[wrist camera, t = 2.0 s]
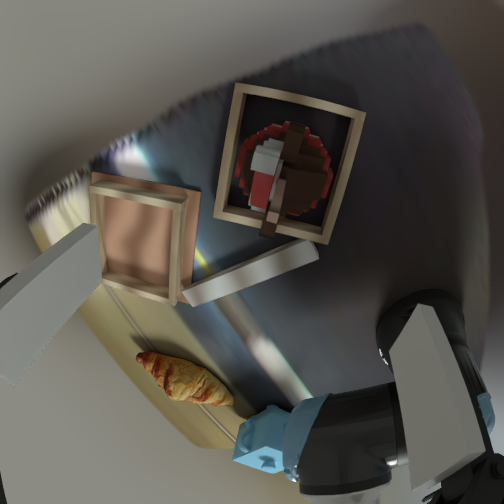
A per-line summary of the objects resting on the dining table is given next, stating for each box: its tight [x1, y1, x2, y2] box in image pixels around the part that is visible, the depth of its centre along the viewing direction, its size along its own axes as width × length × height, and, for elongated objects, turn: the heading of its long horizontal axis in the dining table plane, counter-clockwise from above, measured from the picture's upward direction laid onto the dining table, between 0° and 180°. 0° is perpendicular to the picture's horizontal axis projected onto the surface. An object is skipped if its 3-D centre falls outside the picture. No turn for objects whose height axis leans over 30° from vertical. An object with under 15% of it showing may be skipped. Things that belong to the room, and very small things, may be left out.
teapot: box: [232, 405, 291, 473], centre depth 52 cm, size 18×16×13 cm
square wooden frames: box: [89, 83, 366, 307], centre depth 37 cm, size 34×32×3 cm
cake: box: [235, 121, 333, 239], centre depth 26 cm, size 11×9×18 cm
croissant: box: [136, 352, 234, 406], centre depth 53 cm, size 21×10×8 cm, turn 61°
